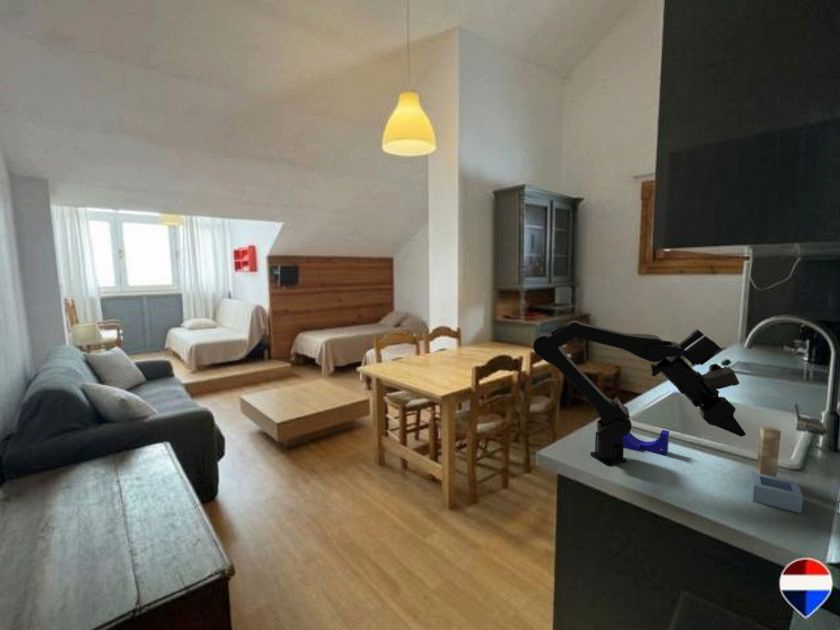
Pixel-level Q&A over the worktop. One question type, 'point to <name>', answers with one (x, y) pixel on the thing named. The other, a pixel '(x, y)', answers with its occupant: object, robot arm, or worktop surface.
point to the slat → (768, 451)
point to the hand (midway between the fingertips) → (737, 427)
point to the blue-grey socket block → (776, 492)
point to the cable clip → (648, 443)
